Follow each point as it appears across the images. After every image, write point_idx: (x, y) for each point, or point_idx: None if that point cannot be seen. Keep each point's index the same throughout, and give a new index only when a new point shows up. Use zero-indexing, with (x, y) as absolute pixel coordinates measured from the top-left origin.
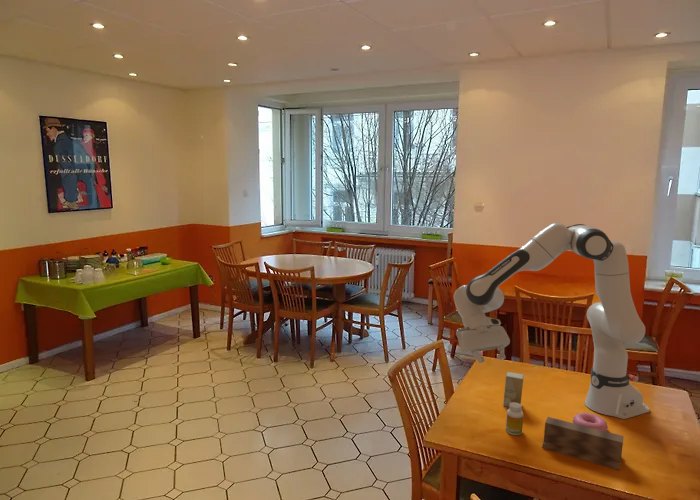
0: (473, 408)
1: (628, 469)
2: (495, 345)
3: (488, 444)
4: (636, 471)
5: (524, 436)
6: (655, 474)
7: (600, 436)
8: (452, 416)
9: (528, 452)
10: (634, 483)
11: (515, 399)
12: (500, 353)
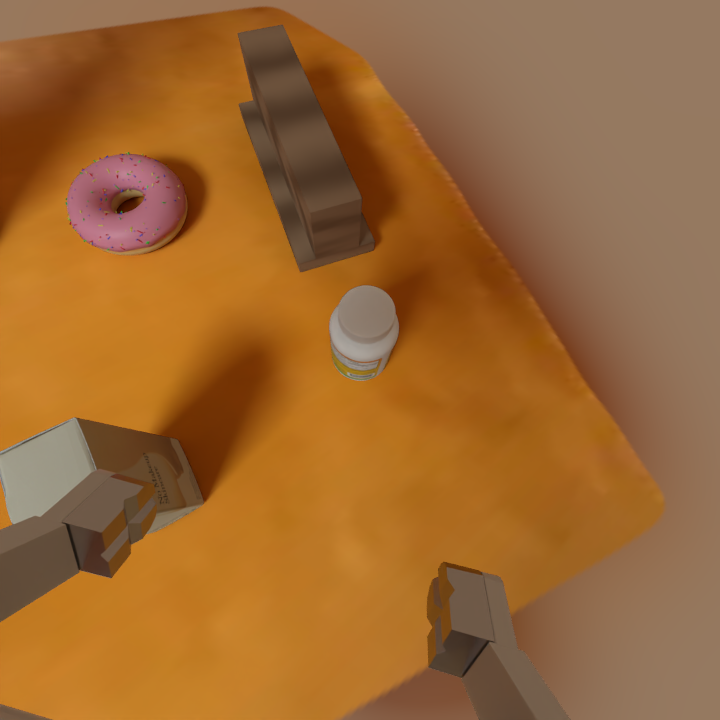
0: (333, 578)
1: None
2: (8, 715)
3: (501, 358)
4: None
5: None
6: None
7: (298, 67)
8: None
9: (429, 262)
10: (334, 71)
11: (166, 455)
12: (50, 577)
